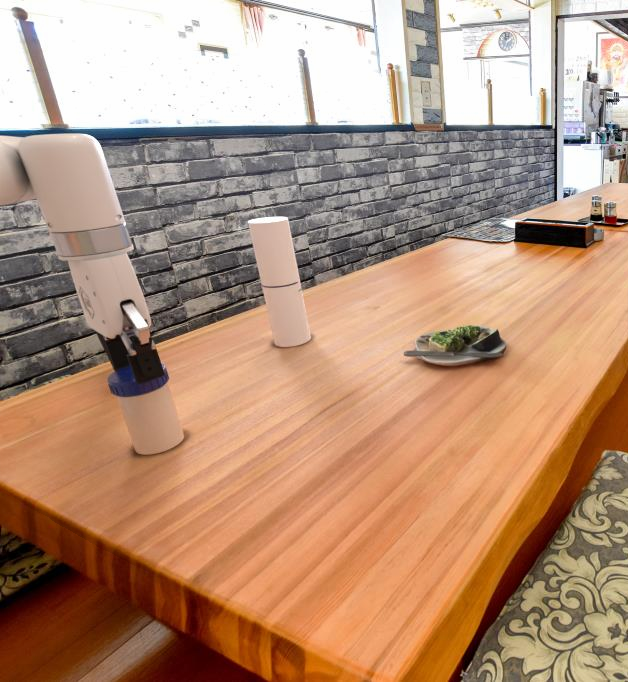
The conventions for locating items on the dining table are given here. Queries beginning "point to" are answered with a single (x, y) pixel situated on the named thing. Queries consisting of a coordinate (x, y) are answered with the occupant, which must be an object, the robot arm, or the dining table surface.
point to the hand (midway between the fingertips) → (139, 371)
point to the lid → (133, 383)
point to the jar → (152, 420)
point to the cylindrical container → (280, 280)
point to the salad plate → (459, 346)
